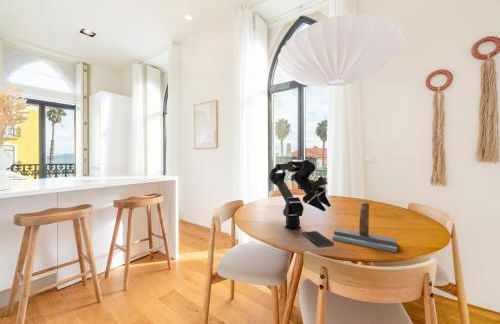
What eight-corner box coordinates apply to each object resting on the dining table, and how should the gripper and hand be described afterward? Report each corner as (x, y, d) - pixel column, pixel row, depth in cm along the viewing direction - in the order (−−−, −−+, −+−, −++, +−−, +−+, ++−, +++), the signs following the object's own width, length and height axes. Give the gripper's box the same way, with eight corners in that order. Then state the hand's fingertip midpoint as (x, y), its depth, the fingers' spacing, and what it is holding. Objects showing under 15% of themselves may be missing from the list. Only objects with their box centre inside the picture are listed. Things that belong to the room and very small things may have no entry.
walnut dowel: (360, 235, 97) (360, 203, 96) (358, 232, 100) (359, 201, 100) (369, 236, 96) (369, 204, 95) (367, 233, 99) (368, 202, 98)
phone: (317, 245, 93) (301, 232, 107) (317, 247, 93) (301, 234, 107) (334, 243, 94) (316, 230, 109) (334, 245, 94) (316, 233, 109)
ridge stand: (332, 239, 100) (332, 232, 100) (337, 232, 109) (337, 226, 109) (396, 252, 87) (396, 245, 87) (396, 243, 96) (396, 236, 96)
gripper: (310, 172, 96) (336, 201, 90) (321, 169, 111) (345, 194, 106) (292, 189, 100) (316, 217, 95) (306, 184, 116) (327, 208, 110)
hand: (327, 208), depth 101 cm, fingers open, 9 cm apart
